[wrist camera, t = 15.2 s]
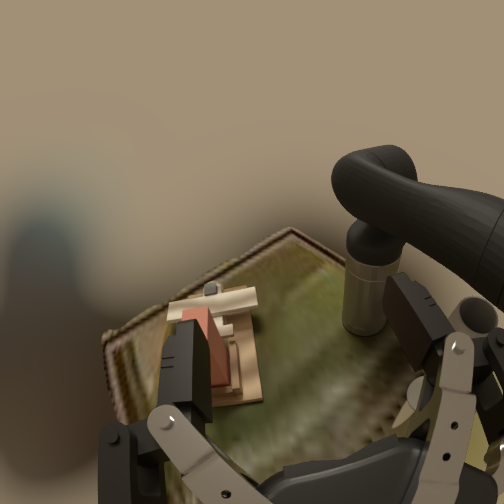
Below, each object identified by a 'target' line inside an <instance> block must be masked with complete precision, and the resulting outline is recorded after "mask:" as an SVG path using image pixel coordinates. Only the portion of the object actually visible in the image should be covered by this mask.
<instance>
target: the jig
mask: <svg viewBox="0 0 504 504" xmlns="http://www.w3.org/2000/svg"><path fill="white" fill-rule="evenodd" d="M205 306H208V308H209V310H210V312H211V315H212V317H213V319H214V322H215V324H216V326H217V329H218V331H219V333H220V336H221V338H222V340H223V342H224V345H225V347H226V349H227V351H228V354H229V356H230V369H231V384H232V386H226V387H218V388H211V394H212V407H219V406H227V405H235V404H243V403H250V402H256V401H262V400H263V395H262V388H261V381H260V374H259V367H258V360H257V353H256V346H255V339H254V332H253V325H252V317H251V310H252V309H257V308H258V302H257V296H256V290H255V287H251V288H247V285H245V286H240V287H234V288H229V289H224V287H223V284H222V283H221V282H219V281H210V282H208V283H207V284H205V287H204V289H203V294H197V295H192V296H188V299H187V300H181V301H176V302H170V303H169V309H168V316H167V322H168V323H169V324H170V323H177V322H178V321H181V319H182V310H187V309H193V308H199V307H205Z"/></svg>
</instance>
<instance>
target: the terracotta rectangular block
mask: <svg viewBox="0 0 504 504" xmlns="http://www.w3.org/2000/svg"><path fill="white" fill-rule="evenodd" d="M190 319H197V320H198V322H199V324H200V326H201V328H202V330H203V332H204V334H205V336H206V338H207V341H208V344H209V348H210V363H211V388H218V387H226V386H232V384H231V369H230V356H229V354H228V351H227V349H226V347H225V345H224V342H223V340H222V338H221V336H220V333H219V331H218V329H217V326H216V324H215V322H214V319H213V317H212V315H211V312H210V310H209V308H208V306H205V307H199V308H193V309H187V310H182V319H181V321H184V320H190Z"/></svg>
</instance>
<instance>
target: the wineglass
mask: <svg viewBox="0 0 504 504" xmlns="http://www.w3.org/2000/svg"><path fill="white" fill-rule="evenodd" d="M448 320H449V322H450V323H451V325H452V326H453V328H454V329H455V331H456V332H462V333H465V334H466V335H468V336H469V337H470V338H479V337H487V335H488V334H489V332H490V331H491V330H492V329H493V328H497V325H498V315H497V312H496V310H495V309H494V307H493V306H492V305H491V304H490V303H489V302H488V301H487V300H485V299H483V298H481V297H478V296H469V297H466V298H464V299H463V300H462V301H461V302H460V303H459V304H458V306H457V307H456V309H455V310H454V311H453V312H452V314H451V315H450V317H449V318H448ZM423 378H424V376H422V377H419V378H417V379H415V380H414V381H413V382H412V383H411V384H410V386H409V388H408V390H407V401H408V403H409V405H410V407H411V408H412V409H413V410H415V411H416V407H417V403H418V399H419V395H420V391H421V387H422V382H423Z"/></svg>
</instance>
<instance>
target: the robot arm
mask: <svg viewBox="0 0 504 504" xmlns="http://www.w3.org/2000/svg"><path fill="white" fill-rule="evenodd" d="M331 182H332V188H333V191H334V193H335V195H336V197H337V199H338V200H339V202H340V203H341V205H342V206H343V207H344V208H345V209H346V210H347V211H348V212H349V213H350V214H352V215H353V216H354V217H356V218H357V219H358V220H357V221H356V222H354V223H353V224H352V225H351V227H350V228H349V230H348V233H347V239H346V241H347V242H346V268H345V285H344V298H343V310H342V322H343V324H344V326H345V327H346V329H347V330H349V331H350V332H351V333H353V334H356V335H359V336H371V335H374V334H376V333H378V332H379V331H381V330H382V329H383V327H384V326H385V323H386V320H388V321H389V323H390V325H391V327H392V329H393V331H394V332H395V334H396V336H397V338H398V340H399V342H400V344H401V346H402V348H403V350H404V352H405V353H406V355H407V357H408V359H409V361H410V363H411V365H412V367H413V369H414V372H417V371H419V370H422V369H424V371H425V375H424V378H423V382H422V387H421V391H420V395H419V399H418V403H417V407H416V411H415V414H414V416H413V418H412V420H411V422H410V424H409V426H408V429H407V431H406V434H405V437H399V438H397V435H396V434H393V435H391V436H389V437H386V438H383V439H381V440H378V441H376V442H373V443H370V444H369V445H367V446H365V447H364V448H362V449H361V450H359V451H357V452H356V453H354V454H352V455H351V456H349V457H347V458H345V459H341V460H320V461H308V462H304V463H299V464H294V465H289V466H283V471H280V472H278V473H276V474H274V475H272V476H271V477H269V478H268V479H267V480H265V481H264V482H263V483H262V484H261V485H260V484H259V483H258V482H257V481H256V480H254V479H253V478H252V477H251V476H250V475H249V474H247V473H246V472H245V471H244V470H243V469H242V468H240V467H239V466H238V465H237V464H236V463H234V462H233V461H232V460H231V459H230V458H229V457H228V456H227V455H226V454H225V453H224V452H223V451H222V450H221V449H220V448H219V447H218V446H217V445H216V444H215V443H214V442H213V441H212V440H211V439H210V438H209V437H208V436H207V435H206V434H205V423H213V416H212V394H211V363H210V348H209V344H208V341H207V338H206V336H205V334H204V332H203V330H202V328H201V326H200V324H199V322H198V320H197V319H190V320H184V321H178V323H177V329H176V335H171V336H168V338H167V340H166V342H165V343H164V345H163V349H162V360H161V369H160V378H159V389H158V401H157V406H156V408H155V409H154V410H153V411H152V412H151V413H150V415H149V417H147V418H146V419H144V420H141V421H138V422H135V423H132V424H129V425H126V426H125V425H124V424H122V423H120V422H116V421H114V422H109V423H108V424H106V425H105V426H104V427H103V428H102V430H101V432H100V436H99V452H98V453H99V454H98V504H167V496H166V485H165V473H164V462H166V461H169V460H171V461H172V462H173V463H174V465H175V466H176V467H177V468H178V469H179V471H180V472H181V474H182V475H181V477H182V479H183V481H184V482H185V484H186V485H187V486H188V487H189V488H190V490H191V491H192V492H193V493H194V494H195V495H196V496H197V497H198V498H199V499H200V500H201V501H202V502H203V503H204V504H496V502H497V498H498V496H499V495H500V494H501V493H503V492H504V329H502V328H498V327H497V328H493V329H492V330H491V331H490V332H489V334H488V335H487V337H479V338H470V337H469V336H468V335H466V334H465V333H462V332H456V331H455V329H454V328H453V326H452V325H451V323H450V322H449V320H448V319H447V317H446V316H445V314H444V313H443V312H442V310H441V309H440V307H439V306H438V305H437V304H436V302H435V300H434V299H433V298H432V297H431V295H430V294H429V292H428V290H427V289H426V288H425V287H424V286H423V285H421V284H420V283H418V282H417V281H413V282H412V281H411V280H410V278H409V277H408V276H407V274H406V273H404V272H401V273H398V270H399V265H400V260H401V254H402V249H403V246H404V245H405V243H406V242H407V243H409V244H411V245H412V246H414V247H415V248H417V249H419V250H420V251H422V252H423V253H425V254H426V255H428V256H430V257H431V258H433V259H434V260H436V261H437V262H439V263H440V264H442V265H443V266H445V267H446V268H448V269H449V270H451V271H452V272H453V273H455V274H456V275H458V276H459V277H460V278H461V279H463V280H464V281H465V282H466V283H468V284H469V285H470V286H471V287H472V288H474V290H476V291H477V292H478V293H479V294H481V295H482V296H483V297H485V298H486V299H487V300H488V301H489V302H491V303H492V304H493V305H494V306H496V307H497V308H498V309H500V310H501V311H502V312H503V313H504V199H501V198H499V197H496V196H493V195H490V194H487V193H483V192H478V191H473V190H467V189H461V188H454V187H446V186H438V185H431V184H425V183H421V182H418V179H417V173H416V169H415V166H414V163H413V161H412V159H411V158H410V156H409V155H408V154H407V153H406V152H405V151H404V150H403V149H401V148H400V147H397V146H394V145H383V146H377V147H373V148H367V149H363V150H358V151H354V152H352V153H349V154H347V155H345V156H343V157H342V158H341V159H340V160H338V162H337V163H336V164H335V166H334V168H333V171H332V175H331ZM493 371H494V372H495V374H496V376H497V379H498V381H499V383H500V385H501V387H502V390H503V395H502V393H501V390H500V388H499V386H498V384H497V382H496V379H495V378H494V375H493V373H492V372H493ZM475 408H476V410H477V413H478V415H479V418H480V421H481V424H482V426H483V429H484V432H485V435H486V438H487V441H488V444H489V447H488V450H487V453H486V454H485V456H484V461H485V463H487V468H486V471H485V472H484V471H482V470H480V469H478V468H476V467H473V466H471V465H469V464H467V463H465V462H464V460H465V456H466V452H467V449H468V444H469V440H470V435H471V431H472V425H473V419H474V414H475Z"/></svg>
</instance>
